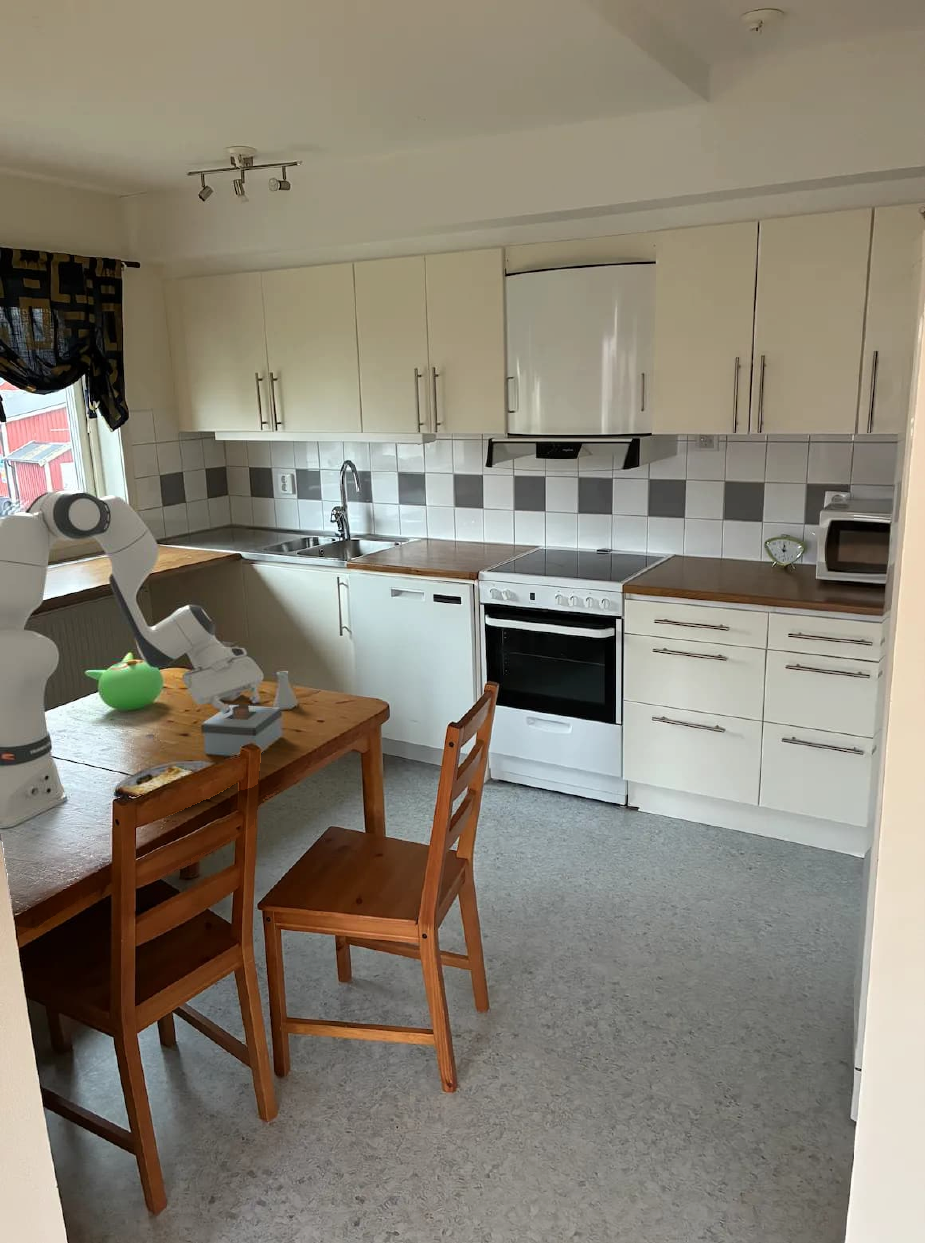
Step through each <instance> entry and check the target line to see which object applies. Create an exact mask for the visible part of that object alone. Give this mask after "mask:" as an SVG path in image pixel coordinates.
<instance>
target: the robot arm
mask: <svg viewBox="0 0 925 1243" xmlns="http://www.w3.org/2000/svg"><path fill="white" fill-rule="evenodd" d="M149 529H150V528H148V527H147V525H146V523H145V522H144V521H143V520H142V518H141V517H140V516H139V515H138V513H137V512H136V511H135V510H134V509H133V508H132V507H131V506H130V505H129V504H128V503H127V502H126V500H124V499H123V498H121V497H120V496H117V495H106V496H103V497H100V498H98V497H96V496H94V495H93V494H91V493H89V492H86V491H84V490H78V489H77V490H70V489H69V490H68V489H58V490H54V491H49V492H45V493H42V494H41V495H39V496H37V497H36V498H35V500H34V501H32V503H31V504H30V505H29V507H28V508H27V510H25V511H24V512H15V513H11V514H8V515H7V516H6V517H4V518H3V519H2V521H1V524H0V829H6V828H13V827H15V826H17V825H19V824H21V823H23V822H25V821H27V820H30V819H32V818H35V817H36V816H38V815H40V814H42V813H44V812H46V811H48V810H50V809H52V808H54V807H56V806H58V805H60V804H62V803H64V802H65V801H67V800H68V796H67V793H65V788H64V786H63V785H62V781H61V779H60V778H61V777H60V775H59V771H58V767H57V764H56V761H55V760H54V757H53V755H52V751H51V750H52V749H53V745H52V744H53V743H52V739H51V735H50V732H48V727H47V721H46V720H47V719H46V714H45V713H46V712H45V704H44V703H45V702H44V701H45V700H44V698H45V689H46V685H47V681H48V679H49V678H50V677H51V676H52V675H53V674H54V672H55V671H56V669H57V667H58V665H59V660H60V659H59V658H60V657H59V656H60V655H59V653H60V652H59V649H58V646H57V645H56V643H55V642H54V641H53V640H52V639H50V638H49V637H47V636H45V635H43V634H41V633H39V632H36V631H33V630H26V629H25V626H26V624H27V621H28V619H29V617H30V616H31V615H32V614H33V612H34V611H35V610H36V609H38V608H39V607H40V606H41V605H42V603H43V601H44V594H45V588H46V580H47V574H48V573H47V572H48V567H49V565H48V564H49V556H50V553H51V549H52V547H53V545H54V544H55V543H56V541H58V540H61V541H75V540H86V539H89V538H94V540H95V541H96V542H98V543H99V545H100V547H101V548H102V550H103V551H104V552H105V554H106V555H107V557H108V559H109V561H110V564H111V574H110V575H109V577H108V581H109V585H110V587H111V588H110V589H111V590H112V594H113V595H114V597H115V599H116V602H117V604H118V606H119V609H120V611H121V612H122V614H123V617H124V619H125V621H126V623H127V625H128V627H129V629H130V631H131V633H132V635H133V637H134V640H135V643H136V647H137V650H138V653H139V655H140V657H141V658H142V659H141V660H143V661H145V662H146V663H147V664H148V665H149V666H150V667H155V668H158V669H166V668H167V667H169V666H170V665H171V664H172V663H174V662H175V661H176V660H177V659H178V658H180V657H181V656H184V654H187V656H188V658H189V660H190V662H191V665H192V666H193V667H194V668H193V669H191V670H186V671H185V672H184V673H183V675H182V677H181V678H182V681H183V683H184V684H185V686H186V688H187V690H188V692H189V695H190V697H191V698H192V700H193V702H194V704H196V705H198V706H203V705H206V704H209V703H210V704H211V705H212V707H215V708H216V709H218V710H220V711H221V712H222V713H223V714H226V713H229V711H230V710H231V709H230V707H229V705H230V704H228V703H224V702H222V700H219V699H221V698H224V697H226V696H229V695H232V694H235V693H238V692H241V691H242V692H243V691H248V693H251V696H250V698H249V700H250V701H251V703H252V704H256V703H259V702H260V701H261V698H260V696H259V694H258V687H259V685H260V684H262V682H263V680H264V673H263V671H262V670H261V669H260V667H259V665H258V664H257V663H256V662H255V660H253V658H252V657H249V656H247V655H248V652H247V650H246V648H244V647H238V648H231V647H223V645H222V644H221V643H220V642H221V641H219V640H218V639H217V638H216V635H215V631H216V624H215V622H213V621H212V620H211V618H210V616H209V614H208V612H207V611H206V609H205V608H204V607H203V606H201V605H195V604H188V605H185V606H183V607H180V608H177V610H174V612H172V614H171V615H169V616H168V617H166V618H165V619H163V620H161V621H159V622H157V623H156V624H155V625H153V626H148V624H147V621H146V619H145V618H144V616H143V613H142V611H141V609H140V607H139V605H138V603H137V593H138V591H139V589H140V588H141V586H142V584H143V583H144V582H145V580H146V579H147V578H148V577H149V575H150V574H151V573H152V571H153V570H154V569H155V566H156V564H157V561H158V559H159V545H158V543H157V541H156V540H155V538H154V536H153V534H152V533H151V531H150V530H149Z"/></svg>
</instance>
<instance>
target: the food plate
mask: <svg viewBox="0 0 925 1243" xmlns="http://www.w3.org/2000/svg"><path fill="white" fill-rule="evenodd" d="M211 764H216V763H214V762H207V761H202V760H201V761H199V760H198V761H195V760H194V761H189V760H187V761H176V762H169V763H164V764H161V765H156V766H150V767H147V768H144V769H142V770H140V771H138V772H135V773H134V774H132V775H130V776H129V777H126V778H124V780H121V781H119V783H117V785H116V787H115V788H114V789H115V790H114V792H113V795H114V797H115V798H116V799H117V798H118V797H121V796H131V797H137V796H139V795H143V794H145V793H146V792H149V791H152V789H154V788H158V787H160V786H161V785H163V784H167V783H169V782H171V781H172V780H176V779H178V778H180V777H181V776H185V775H188V774H190V773H191V772H195V771H197V770H199V769H201V768H205V767H207V766H209V765H211Z"/></svg>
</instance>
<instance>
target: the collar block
mask: <svg viewBox="0 0 925 1243" xmlns="http://www.w3.org/2000/svg"><path fill="white" fill-rule="evenodd" d="M228 705H229V707H230V709H231V710H230V711H229V713H226V714H223V713H222V712H221V710H220V711H219V712H217V713H215V714H214V715H213V716H211V717H209V718H208V719H206V720H205V721H204V722H201V725H200V729H201V733H202V734H203V742H204V743H203V744H204V752H205V755H217V756H232V757H235V756H234V755H237V754H238V753H239V751H240V749H242V746H243V745H246V744H249V743H255V744H257V745H258V746H260V748H261V749H262V752H263V749H265V748H266V747H267V746H268V745H270V744H271V743H272V742H273V741H276V740H277V738H278V737H281V736H282V737H283V729H282V716H283V714H282V710H281V709H280V708H279V707H273V706H260V705H248V706H249V714H250V718H249V719H247V720H242V719H233V710H232V708H233V707H235V706H239V705H240V704H228ZM263 753H264V752H263Z"/></svg>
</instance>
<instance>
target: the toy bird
mask: <svg viewBox="0 0 925 1243" xmlns="http://www.w3.org/2000/svg"><path fill="white" fill-rule="evenodd" d="M133 656H134V655H133V653H132V652H128V653H127V654H126V655H125V656H124V657H123V659H122V661H120V662H117V663H114V664H113V665H111V666H110V667H109V668H107V669H92V670H91V669H90V670H86V671H85V672H84V674H85V675H86V676H87V677H90V678H92V679H94V680H96V681H98V684H97V692H98V695H99V697H100V699H101V700H102V701H103V703H104V704H105V705H106V706H108V707H110V708H112V709H114V710H118V711H133V710H137V709H138V710H139V709H141V708H143V707H144V708H145V707H146V706H149V705H150V704H151V703H153V702H154V701H156V699H158V697H159V696H160V694H161V693H162V691H163V687H164V678H163V674H162V672H161V670H160V668H155V667H150V666H149V665H148V664H147V663H146V662H145V661H144V660H143V659H134V657H133Z"/></svg>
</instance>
